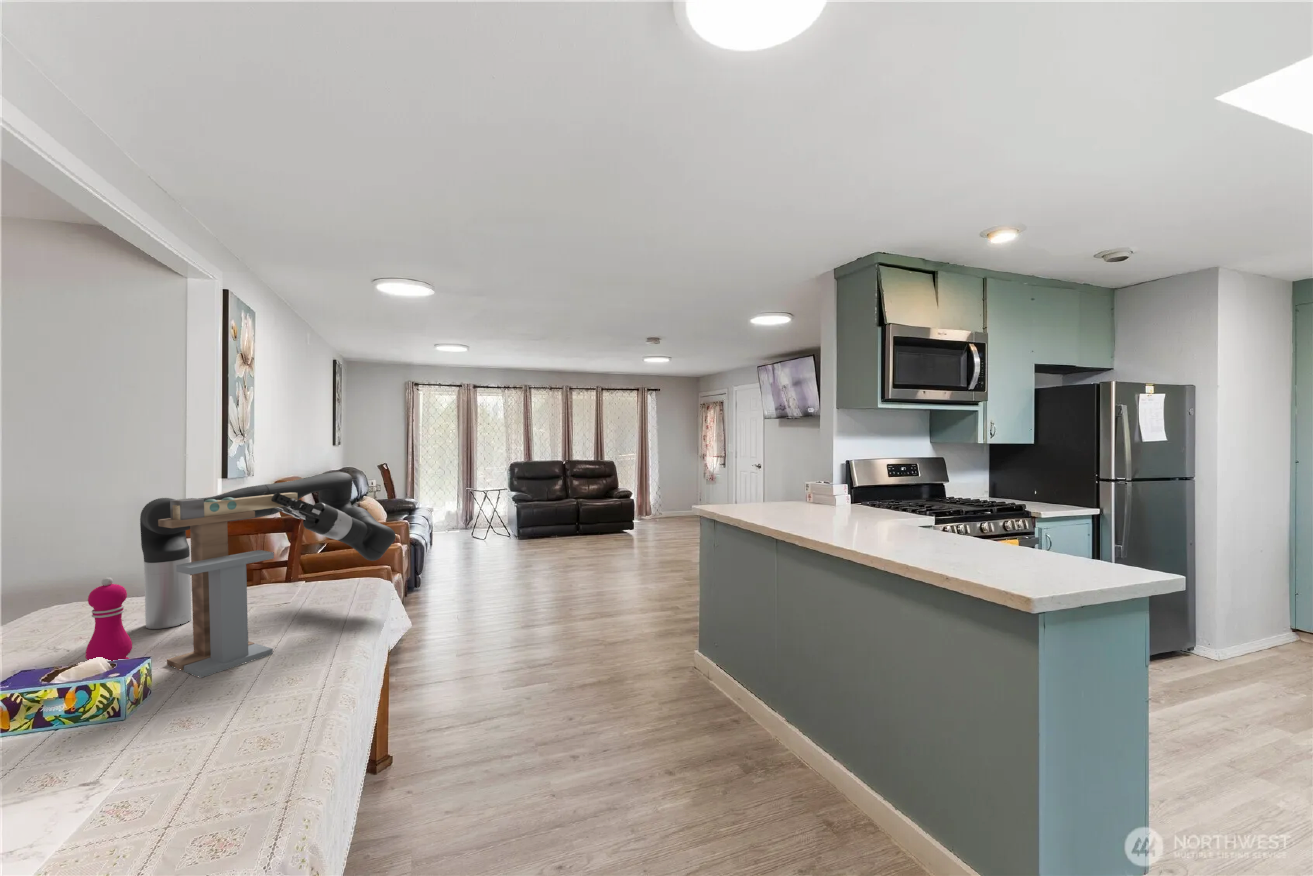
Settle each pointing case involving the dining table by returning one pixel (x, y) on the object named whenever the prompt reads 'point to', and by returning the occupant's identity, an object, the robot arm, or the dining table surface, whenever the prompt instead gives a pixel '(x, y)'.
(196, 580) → the tall stand
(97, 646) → the pepper mill
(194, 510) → the teal-dotted wooden beam
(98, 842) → the dining table surface
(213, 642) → the low stand
